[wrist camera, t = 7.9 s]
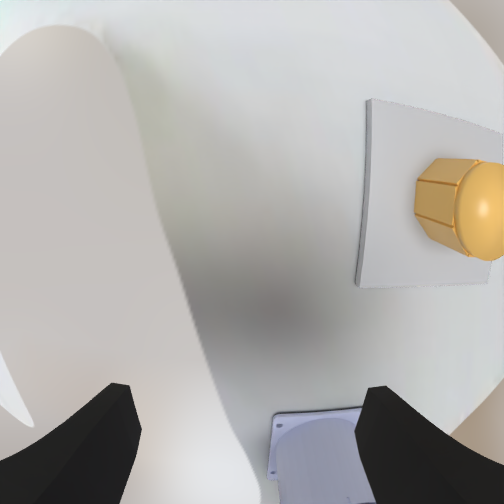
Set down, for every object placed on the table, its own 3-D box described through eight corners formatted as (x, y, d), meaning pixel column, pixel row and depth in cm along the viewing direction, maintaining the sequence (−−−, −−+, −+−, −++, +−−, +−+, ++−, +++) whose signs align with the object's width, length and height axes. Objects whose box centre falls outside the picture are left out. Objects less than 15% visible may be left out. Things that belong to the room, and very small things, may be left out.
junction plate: (481, 280, 19) (513, 299, 15) (355, 283, 18) (379, 311, 14) (496, 134, 16) (533, 133, 12) (366, 100, 15) (396, 86, 12)
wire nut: (468, 241, 17) (514, 261, 12) (410, 238, 17) (454, 260, 12) (476, 166, 16) (525, 171, 11) (417, 154, 15) (465, 154, 11)
